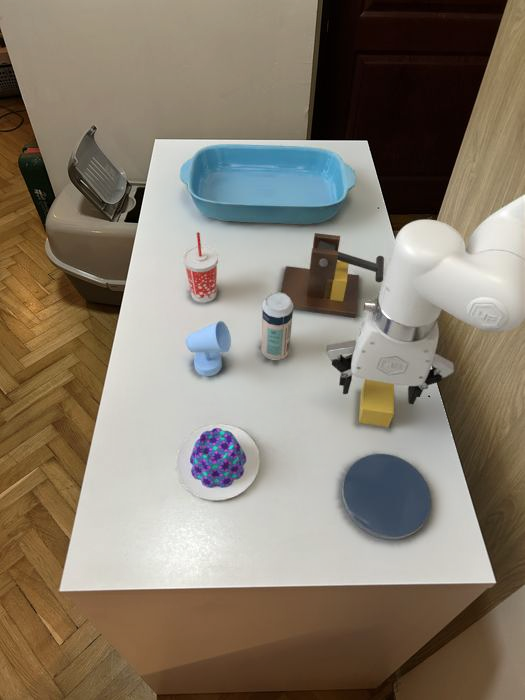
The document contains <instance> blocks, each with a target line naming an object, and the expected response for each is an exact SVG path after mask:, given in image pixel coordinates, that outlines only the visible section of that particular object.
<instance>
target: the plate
mask: <svg viewBox="0 0 525 700" xmlns="http://www.w3.org/2000/svg"><path fill="white" fill-rule="evenodd" d="M341 497H342V502H343V506H344V508H345V510H346V512H347V514H348V516H349V518H350V519H351V520H352V522H353V523H354V524H355V525H356V526H357V527H358V528H360V529H361V530H362V531H364V532H366V534H369V535H371V536H373V537H377V538H378V539H383V540H390V541H391V540H392V541H393V540H401V539H404V538H407V537H410V536H412V535H414V534H415V533H417V532H418V531H419V530H420V529H421V528H422V527H423V525H424V524H425V522H426V521H427V519H428V517H429V514H430V513H431V506H432V495H431V491H430V489H429V485H428V483H427V481H426V479H425V478H424V476H423V475H422V474H421V473H420V471H419V470H418V469H417V468H416V467H415V466H414V465H413V464H411V463H410V462H409V461H407V460H405V459H403V458H401V457H398V456H395V455H393V454H387V453H374V454H369V455H366V456H364V457H362V458H359V459H358V460H356V461H355V462H354V463H353V464H352V465H351V466H350V467H349V468H348V471H347V472H346V474H345V476H344V480H343V483H342V487H341Z"/></svg>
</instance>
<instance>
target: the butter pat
mask: <svg viewBox="0 0 525 700" xmlns="http://www.w3.org/2000/svg"><path fill="white" fill-rule="evenodd" d="M359 399H360V400H359V413H358V415H359V417H358V424H364V425H371V426H376V427H377V426H378V427H383V428H389V427H390V424H391V422H392V419H393V417H394V414H395V384H391V383H385V382H378V381H372V380H366V379H364V381H363V384H362V387H361V390H360V397H359Z"/></svg>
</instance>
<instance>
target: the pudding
mask: <svg viewBox="0 0 525 700" xmlns="http://www.w3.org/2000/svg"><path fill="white" fill-rule="evenodd" d="M260 463H261V459H260V452H259V449H258V446H257V445H256V442H255V441H254V440H253V438H252V437H251V436H250V435H249V433H247V432H246V431H244V430H242V429H241V428H239V427H236V426H234V425H231V424H224V423H218V424H217V423H216V424H209V425H205V426H203V427H201V428H198V429H196V430H195V431H193V432H191V433H190V434H189V435H188V436H187V437H186V438H185V439H184V440H183V441H182V443H181V445H180V446H179V448H178V451H177V454H176V458H175V470H176V475H177V477H178V479H179V481H180V483H181V485H182V486H183V487H184V488H185V489H186V490H187V491H188V492H189V493H191V494H192V495H194V496H196V497H198V498H200V499H203V500H208V501H225V500H229V499H232V498H233V497H237V496H239V495H240V494H241V493H243V492H245V491H246V490H247V489H248V488H249V487H250V486H251V485H252V484H253V482H254V481H255V479H256V477H257V475H258V474H259V473H258V472H259V469H260Z"/></svg>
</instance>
